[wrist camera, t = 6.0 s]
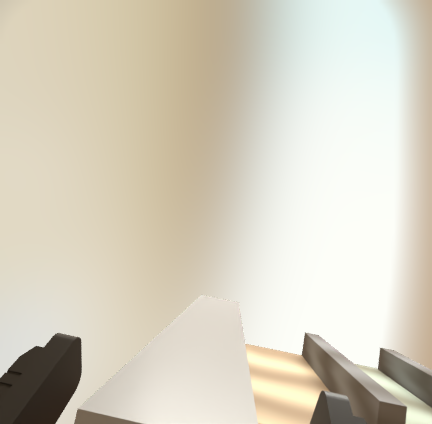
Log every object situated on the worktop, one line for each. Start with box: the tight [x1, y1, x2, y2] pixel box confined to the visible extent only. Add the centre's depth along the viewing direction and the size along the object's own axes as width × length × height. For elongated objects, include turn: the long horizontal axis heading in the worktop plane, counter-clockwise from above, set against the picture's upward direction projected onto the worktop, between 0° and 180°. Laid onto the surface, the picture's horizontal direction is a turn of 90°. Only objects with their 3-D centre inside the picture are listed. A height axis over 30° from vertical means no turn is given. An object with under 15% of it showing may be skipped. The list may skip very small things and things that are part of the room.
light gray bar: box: [74, 295, 258, 424], centre depth 19 cm, size 26×4×4 cm, turn 177°
